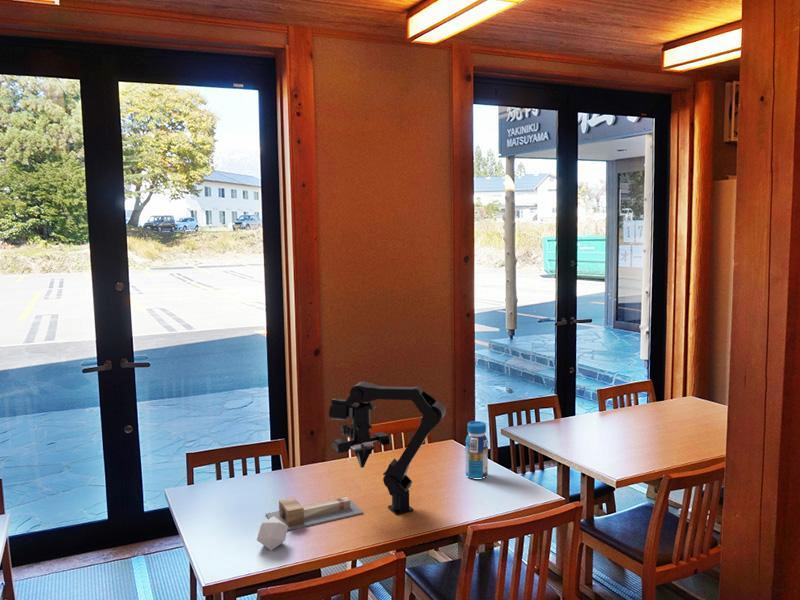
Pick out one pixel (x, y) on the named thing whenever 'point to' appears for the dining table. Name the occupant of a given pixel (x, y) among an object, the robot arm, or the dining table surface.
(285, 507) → the tan block
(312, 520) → the felt mat
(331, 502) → the pale wooden bar
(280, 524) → the die
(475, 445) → the beverage bottle
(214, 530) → the dining table surface
